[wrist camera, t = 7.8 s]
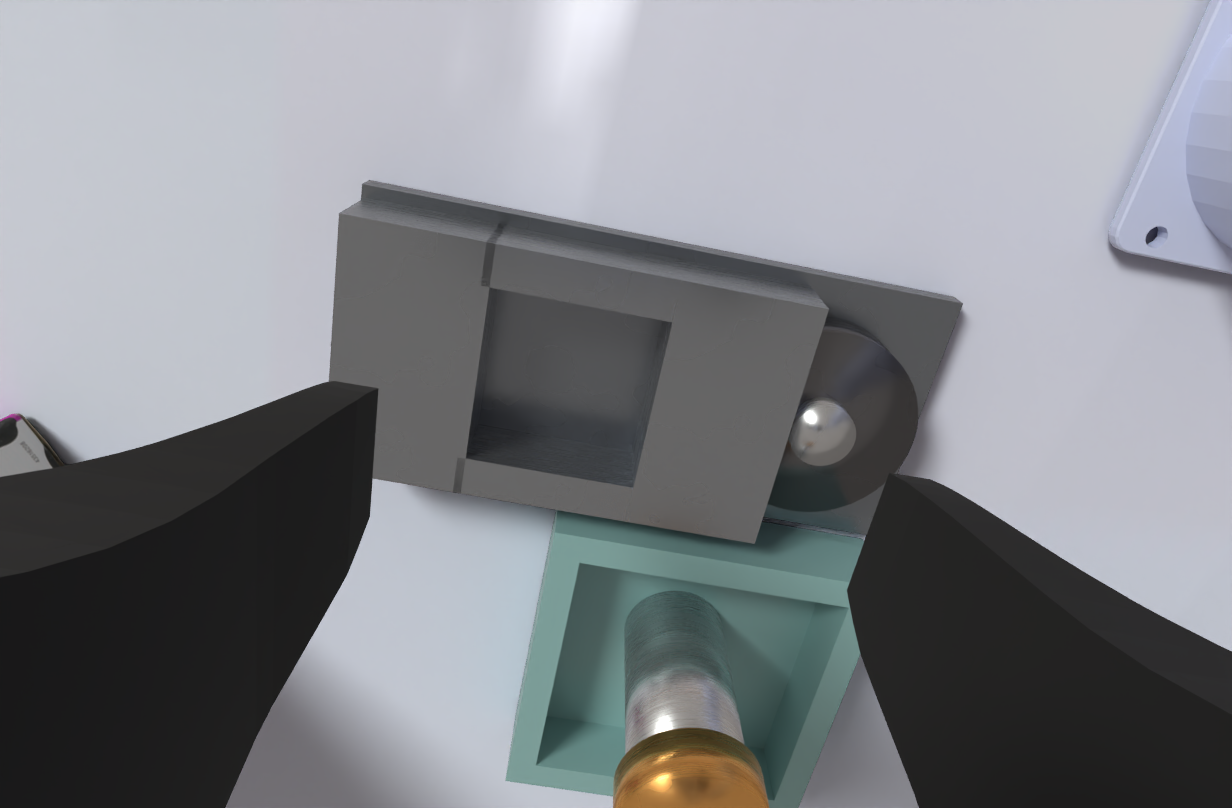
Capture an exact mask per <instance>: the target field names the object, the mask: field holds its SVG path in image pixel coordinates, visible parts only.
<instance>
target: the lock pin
mask: <svg viewBox="0 0 1232 808" xmlns="http://www.w3.org/2000/svg"><path fill="white" fill-rule="evenodd" d="M624 675H625V756H624V757H623V758H622V759H621V761H620V763H619V764H618V767H617V769H616V771H615V775H614V781H613V808H769V803H768V798H767V793H766V788H765V783H764V778H763V774H762V769H761V767H760V764H759V762H758V760H757V759H756V757H755V755H754V754H753V753H752V752H751V751H750V750H749V749H748V748H747V747H746V746H745V745H744V740H743V734H742V729H741V724H740V718H739V713H738V707H737V702H736V697H735V691H734V686H733V681H732V675H731V670H730V664H729V659H728V654H727V648H726V643H725V637H724V632H723V627H722V622H721V618H720V616H719V614H718V612H717V610H716V609H715V608H714V607H713V605H712V604H710V603H709V602H708V601H707V600H705V599H704V598H702V597H700V596H698V595H696V594H693V593H690V592H686V591H674V590H673V591H664V592H659V593H656V594H653V595H651V596H648V597H646V598H645V599H643V600H642V601H640V602H639V603H638V604H637V605H636V606H635V607H634V608H633V609H632V610H631V611H630V613H629V615H628V617H627V619H626V622H625V626H624Z"/></svg>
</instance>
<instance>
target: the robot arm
mask: <svg viewBox="0 0 1232 808" xmlns="http://www.w3.org/2000/svg"><path fill="white" fill-rule="evenodd" d="M1154 227H1157V228H1158V234H1157V237H1156V238H1155V239H1154V240H1153V241H1152V242H1150V243H1149V244H1146V241H1145V240H1146V235H1147V234H1148V232H1149V231H1150V230H1151V229H1153V228H1154ZM1108 235H1109V241H1110V243H1111V244H1112V245H1113V247H1115V248H1117V249H1119V250H1122V251H1124V252H1127V253H1131V254H1136V255H1141V256H1145V257H1150V258H1155V259H1160V260H1165V261H1170V262H1174V263H1179V264H1184V265H1189V266H1194V267H1198V268H1203V269H1208V270H1213V271H1218V272H1223V273H1227V274H1232V0H1210V2H1209V4H1208V7H1207V9H1206V11H1205V13H1204V16H1203V18H1202V20H1201V22H1200V25H1199V27H1198V29H1197V31H1196V34H1195V36H1194V38H1193V40H1192V43H1191V45H1190V47H1189V49H1188V52H1187V54H1186V56H1185V59H1184V61H1183V63H1182V65H1181V68H1180V70H1179V72H1178V74H1177V77H1176V79H1175V81H1174V83H1173V86H1172V88H1171V90H1170V92H1169V95H1168V97H1167V99H1166V101H1165V104H1164V106H1163V108H1162V110H1161V113H1160V115H1159V117H1158V119H1157V122H1156V124H1155V126H1154V128H1153V131H1152V133H1151V135H1150V138H1149V140H1148V142H1147V144H1146V147H1145V149H1144V151H1143V153H1142V156H1141V158H1140V160H1139V162H1138V165H1137V167H1136V169H1135V171H1134V174H1133V176H1132V178H1131V180H1130V183H1129V185H1128V187H1127V189H1126V192H1125V194H1124V196H1123V198H1122V201H1121V203H1120V205H1119V207H1118V210H1117V212H1116V214H1115V217H1114V219H1113V221H1112V223H1111V226H1110V229H1109V233H1108ZM378 389H379V388H374V387H368V386H362V385H356V384H350V383H344V382H338V381H330V382H326V383H322V384H319V385H316V386H313V387H310V388H307V389H304V390H301V391H299V392H296V393H294V394H291V395H288V396H286V397H283V398H281V399H278V400H275V401H273V402H270V403H268V404H265V405H262V406H260V407H257V408H255V409H252V410H249V411H247V412H244V413H242V414H239V415H236V416H234V417H231V418H228V419H226V420H223V421H220V422H217V423H214V424H211V425H208V426H205V427H202V428H199V429H196V430H193V431H190V432H187V433H184V434H181V435H178V436H175V437H172V438H169V439H166V440H163V441H160V442H157V443H153V444H150V445H146V446H143V447H139V448H136V449H132V450H128V451H125V452H121V453H117V454H113V455H109V456H104V457H100V458H96V459H92V460H87V461H83V462H79V463H75V464H70V465H65V466H61V467H56V468H50V469H44V470H38V471H32V472H26V473H21V474H15V475H9V476H3V477H0V808H225V807H226V805H227V802H228V800H229V798H230V795H231V793H232V791H233V789H234V786H235V784H236V782H237V779H238V777H239V775H240V773H241V770H242V768H243V766H244V763H245V761H246V759H247V757H248V754H249V752H250V750H251V748H252V745H253V743H254V741H255V738H256V736H257V734H258V732H259V731H260V729H261V727H262V725H263V723H264V721H265V719H266V717H267V715H268V713H269V711H270V709H271V707H272V705H273V704H274V702H275V700H276V698H277V697H278V695H279V693H280V691H281V690H282V688H283V686H284V684H285V683H286V681H287V679H288V677H289V676H290V674H291V672H292V670H293V669H294V667H295V665H296V664H297V662H298V660H299V658H300V657H301V655H302V653H303V651H304V650H305V648H306V646H307V644H308V643H309V641H310V639H311V637H312V636H313V634H314V632H315V631H316V629H317V627H318V625H319V624H320V622H321V620H322V618H323V617H324V615H325V613H326V611H327V610H328V608H329V606H330V604H331V602H332V601H333V599H334V597H335V595H336V594H337V592H338V590H339V588H340V586H341V585H342V583H343V581H344V579H345V577H346V576H347V573H348V571H349V569H350V566H351V564H352V561H353V559H354V556H355V554H356V551H357V549H358V546H359V544H360V541H361V538H362V536H363V533H364V530H365V528H366V525H367V523H368V520H369V517H370V506H371V491H372V477H373V462H374V448H375V433H376V419H377V404H378ZM847 594H848V600H849V605H850V610H851V615H852V620H853V625H854V629H855V633H856V638H857V642H858V646H859V650H860V653H861V656H862V659H863V662H864V664H865V667H866V670H867V672H868V675H869V678H870V680H871V683H872V686H873V688H874V691H875V694H876V696H877V699H878V702H879V704H880V707H881V709H882V712H883V714H884V717H885V720H886V722H887V725H888V727H889V730H890V732H891V735H892V737H893V740H894V743H895V745H896V748H897V750H898V753H899V755H900V758H901V761H902V763H903V766H904V768H905V771H906V773H907V776H908V779H909V781H910V784H911V786H912V789H913V791H914V794H915V797H916V800H917V803H918V806H919V808H1232V652H1231V651H1229V650H1227V649H1225V648H1223V647H1221V646H1219V645H1217V644H1215V643H1213V642H1211V641H1209V640H1207V639H1205V638H1203V637H1201V636H1199V635H1197V634H1195V633H1193V632H1191V631H1189V630H1187V629H1185V628H1183V627H1181V626H1179V625H1177V624H1175V623H1173V622H1171V621H1170V620H1168V619H1166V618H1164V617H1162V616H1160V615H1158V614H1156V613H1154V612H1152V611H1151V610H1149V609H1147V608H1145V607H1143V606H1141V605H1140V604H1138V603H1136V602H1134V601H1132V600H1131V599H1129V598H1127V597H1126V596H1124V595H1122V594H1120V593H1119V592H1117V591H1115V590H1114V589H1112V588H1110V587H1108V586H1107V585H1105V584H1103V583H1102V582H1100V581H1098V580H1097V579H1095V578H1093V577H1091V576H1090V575H1088V574H1086V573H1085V572H1083V571H1081V570H1080V569H1078V568H1077V567H1075V566H1073V565H1072V564H1070V563H1068V562H1067V561H1065V560H1064V559H1062V558H1060V557H1059V556H1057V555H1056V554H1054V553H1053V552H1051V551H1049V550H1048V549H1046V548H1045V547H1043V546H1041V545H1040V544H1038V543H1037V542H1035V541H1034V540H1032V539H1031V538H1029V537H1027V536H1026V535H1024V534H1023V533H1021V532H1020V531H1018V530H1017V529H1015V528H1013V527H1012V526H1010V525H1009V524H1007V523H1006V522H1004V521H1003V520H1001V519H999V518H998V517H996V516H995V515H993V514H992V513H990V512H988V511H987V510H985V509H984V508H982V507H981V506H979V505H977V504H976V503H974V502H972V501H971V500H969V499H967V498H966V497H964V496H962V495H961V494H959V493H957V492H955V491H953V490H952V489H950V488H948V487H946V486H944V485H942V484H939V483H937V482H935V481H933V480H930V479H924V478H918V477H911V476H905V475H899V474H893V473H889V474H888V477H887V480H886V483H885V486H884V488H883V491H882V494H881V497H880V499H879V502H878V505H877V508H876V510H875V513H874V516H873V519H872V522H871V524H870V527H869V530H868V533H867V535H866V538H865V541H864V544H863V546H862V549H861V552H860V555H859V558H858V560H857V563H856V566H855V569H854V571H853V574H852V577H851V580H850V582H849V585H848V588H847Z"/></svg>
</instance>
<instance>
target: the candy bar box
mask: <svg viewBox="0 0 1232 808" xmlns="http://www.w3.org/2000/svg"><path fill="white" fill-rule="evenodd" d="M61 466H65V464H64V463H63V462H62V461H61V460H60V459H59V457H58V456H57V454H56V453H55V451H54V450H53V449H52V448H51V446H50V445H49V443H48V442H47V441H46V440H45V439H44V438H43V437H42V436H41V435H40V434H39V433H38V432H37V431H36V429H35V428H34V427H33V426H32V425H31V424H30V423H29V422H28V421H27V419H26V418H25V417H23V416H22V415H21V414H11V415H9V416H7V417H5V418H3V419H1V420H0V477H3V476H9V475H15V474H21V473H26V472H32V471H38V470H44V469H50V468H56V467H61Z"/></svg>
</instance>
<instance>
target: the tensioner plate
mask: <svg viewBox="0 0 1232 808" xmlns="http://www.w3.org/2000/svg"><path fill="white" fill-rule="evenodd" d="M962 305H963V303H961V302H960V301H959V300H957V299H956V298H955V297H952V296H947V295H942V294H937V293H932V292H927V291H922V290H917V289H912V288H907V287H902V286H897V285H892V284H887V283H882V282H877V281H872V280H867V279H862V278H857V277H852V276H847V275H842V274H837V273H832V272H827V271H822V270H817V269H812V268H807V267H802V266H797V265H792V264H787V263H782V262H777V261H772V260H767V259H762V258H757V257H752V256H747V255H742V254H737V253H732V252H727V251H722V250H717V249H712V248H707V247H702V246H697V245H692V244H687V243H682V242H677V241H672V240H667V239H662V238H657V237H652V236H647V235H642V234H636V233H631V232H626V231H621V230H616V229H611V228H606V227H601V226H596V225H591V224H586V223H581V222H576V221H571V220H566V219H561V218H556V217H551V216H546V215H541V214H536V213H531V212H526V211H521V210H516V209H511V208H506V207H501V206H496V205H491V204H486V203H481V202H476V201H471V200H466V199H461V198H456V197H451V196H446V195H441V194H436V193H431V192H426V191H421V190H416V189H411V188H406V187H401V186H396V185H391V184H386V183H381V182H376V181H371V180H369V181H367V182H365V183H363V184H362V195H361V201H359V202H357V203H355V204H354V205H352V206H350V207H349V208H347V209H345V210H344V211H342V212H340V213H339V225H338V241H337V258H336V274H335V291H334V307H333V324H332V341H331V357H330V374H329V382H330V381H338V382H344V383H350V384H356V385H362V386H368V387H374V388H379V389H378V404H377V419H376V433H375V448H374V462H373V477H372V478H374V479H379V480H385V481H391V482H397V483H403V484H409V485H414V486H420V487H426V488H432V489H438V490H444V491H449V492H455V493H461V494H467V495H473V496H478V497H484V498H490V499H496V500H502V501H508V502H513V503H519V504H525V505H531V506H537V507H543V508H548V509H554V510H560V511H566V512H572V513H578V514H583V515H589V516H595V517H601V518H607V519H613V520H618V521H624V522H630V523H636V524H642V525H648V526H653V527H659V528H665V529H671V530H677V531H682V532H688V533H694V534H700V535H706V536H712V537H717V538H723V539H729V540H735V541H741V542H747V543H752V544H755V541H756V538H757V535H758V532H759V529H760V526H761V522H762V519H763V517H767V518H773V519H779V520H785V521H790V522H796V523H802V524H808V525H813V526H819V527H825V528H831V529H836V530H842V531H848V532H853V533H859V534H865V535H867V533H868V530H869V527H870V524H871V522H872V519H873V516H874V513H875V510H876V508H877V505H878V502H879V499H880V497H881V494H882V491H883V488H884V486H885V483H886V480H887V477H888V474H889V473H893V474H898V471H899V468H900V466H901V464H902V463H903V461H904V460H905V458H906V456H907V455H908V453H909V450H910V448H911V446H912V444H913V441H914V437H915V434H916V430H917V424H918V419H919V416H920V414H921V411H922V409H923V406H924V403H925V401H926V398H927V396H928V393H929V390H930V388H931V385H932V383H933V380H934V377H935V375H936V372H937V370H938V367H939V364H940V362H941V359H942V357H943V354H944V351H945V349H946V346H947V344H948V341H949V338H950V336H951V333H952V331H953V328H954V325H955V323H956V320H957V318H958V315H959V312H960V310H961V307H962Z"/></svg>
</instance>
